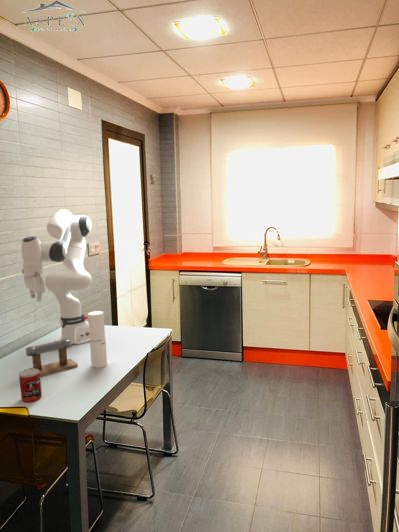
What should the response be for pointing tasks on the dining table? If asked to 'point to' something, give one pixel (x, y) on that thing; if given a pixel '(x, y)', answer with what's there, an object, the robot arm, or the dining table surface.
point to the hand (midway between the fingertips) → (36, 299)
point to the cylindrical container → (97, 339)
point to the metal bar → (48, 347)
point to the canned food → (30, 385)
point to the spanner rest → (53, 367)
